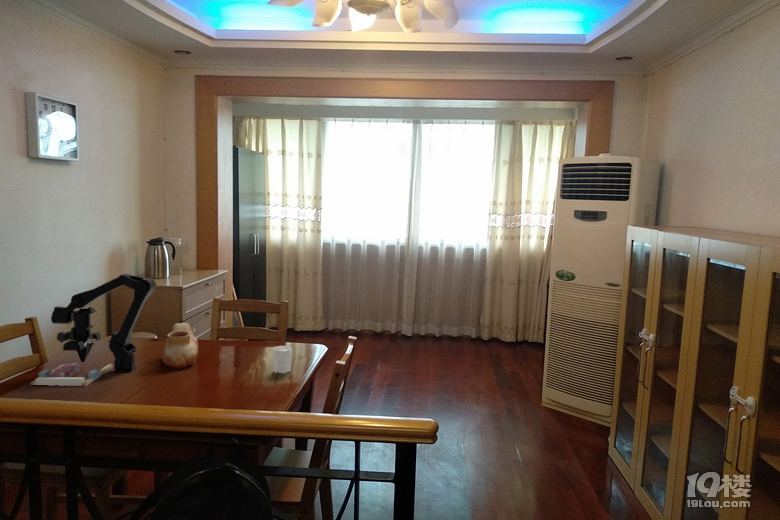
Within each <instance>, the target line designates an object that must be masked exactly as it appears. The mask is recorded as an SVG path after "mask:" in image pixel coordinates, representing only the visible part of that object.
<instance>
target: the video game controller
mask: <svg viewBox="0 0 780 520" xmlns="http://www.w3.org/2000/svg"><path fill="white" fill-rule="evenodd" d="M64 364H65V365H63V364H62V365H63V366H61V365H60V366H61V367H59V366H57V367H56V368H57V369H56V368H54V369H55V370H54V369H53V370H54V372H53V373H52V374H50V376H49V377H73V376H75V375H76V374H77V373H79V372H80V371H81V368H82V366H81V365H80V364H79V363H76V362H73V363H64ZM66 373H67V374H66Z"/></svg>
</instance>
